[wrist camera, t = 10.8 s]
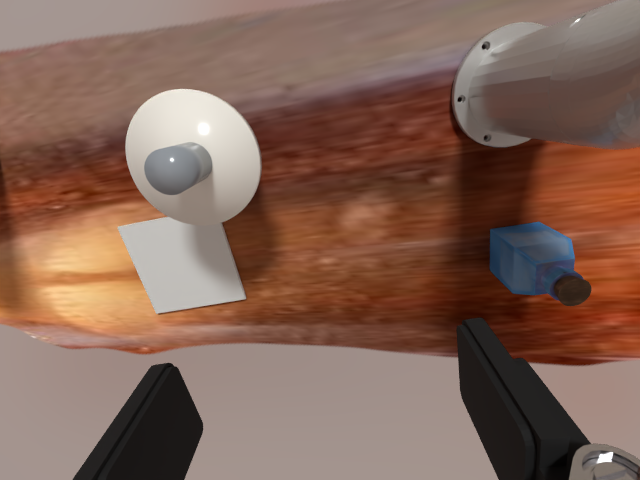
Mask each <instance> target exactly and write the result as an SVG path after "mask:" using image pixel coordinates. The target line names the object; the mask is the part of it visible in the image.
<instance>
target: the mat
mask: <svg viewBox="0 0 640 480" xmlns="http://www.w3.org/2000/svg"><path fill="white" fill-rule="evenodd" d="M117 228H118V230H119V232H120V234H121V237H122V239H123V241H124V243H125V246H126V248H127V250H128V252H129V254H130V257H131V259H132V261H133V263H134V265H135V268H136V270H137V272H138V274H139V277H140V279H141V281H142V283H143V285H144V288H145V290H146V292H147V294H148V296H149V299H150V301H151V303H152V305H153V308H154V310H155V312H156V314H158V313H164V312H170V311H176V310H182V309H188V308H194V307H201V306H207V305H213V304H219V303H225V302H231V301H237V300H244V299H246V295H245V292H244V289H243V285H242V282H241V279H240V276H239V273H238V270H237V267H236V264H235V261H234V258H233V255H232V252H231V249H230V246H229V243H228V239H227V236H226V233H225V230H224V227H223V224H222V223H218V224H214V225H206V226H203V225H191V224H186V223H182V222H180V221H177V220H174V219H172V218H170V217H164V218H159V219H154V220H149V221H144V222H139V223H133V224H128V225H123V226H119V227H117Z"/></svg>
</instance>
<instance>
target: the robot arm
mask: <svg viewBox="0 0 640 480" xmlns="http://www.w3.org/2000/svg"><path fill="white" fill-rule="evenodd" d="M482 45H484V46H485V48H484V50H483V49H482ZM459 97H460V98H461V100H460V102H458V101H457V100H458V98H459ZM452 108H453V113H454V116H455V119H456V121H457V123H458V125H459V127H460V128H461V129H462V131H463V132H464V133H465V134H466V135H467V136H468V137H469V138H471V139H472V140H474V141H476V142H478V143H480V144H483V145H486V146H491V147H510V146H516V145H519V144H521V143H524V142H527V141H529V140H530V139H532V138H533V139H540V140H547V141H553V142H560V143H566V144H573V145H580V146H588V147H595V148H602V149H630V148H636V147H640V0H617V1H615V2H613V3H610V4H607V5H605V6H602V7H599V8H597V9H594V10H591V11H589V12H586V13H583V14H581V15H578V16H575V17H573V18H570V19H567V20H565V21H562V22H559V23H557V24H554V25H551V26H549V27H546V26H543V25H541V24H538V23H531V22H519V23H512V24H509V25H506V26H503V27H500V28H498V29H496V30H494V31H492V32H491V33H489V34H488V35H486V36H485V37H483V38H482V39H480V40H479V41H478V42H477V43H476V44H475V45H474V46H473V47H472V48H471V49H470V51H469V52H468V53H467V55H466V56H465V57H464V59H463V60H462V62H461V64H460V66H459V68H458V70H457V73H456V76H455V78H454V82H453V88H452ZM485 135H486V138H485V139H484V136H485ZM457 344H458V361H459V378H460V391H461V396H462V399H463V402H464V404H465V406H466V409H467V411H468V413H469V415H470V417H471V420H472V422H473V424H474V426H475V428H476V430H477V433H478V435H479V437H480V439H481V442H482V443H483V446H484V448H485V450H486V453H487V455H488V457H489V459H490V461H491V463H492V465H493V468H494V470H495V472H496V474H497V477H498V479H499V480H640V460H639V459H638V458H636V457H635V456H633V455H631V454H629V453H627V452H625V451H623V450H621V449H619V448H616V447H612V446H609V445H604V444H591V443H590V442H589V441H588V440H587V438H586V437H585V435H584V434H583V433H582V432H581V430H580V429H579V428H578V427H577V425H576V424H575V423H574V421H573V420H572V419H571V417H570V416H569V415H568V414H567V412H566V411H565V410H564V408H563V407H562V406H561V405H560V403H559V402H558V401H557V399H556V398H555V397H554V396H553V395H552V393H551V392H550V391H549V389H548V388H547V387H546V385H545V384H544V383H543V381H542V380H541V379H540V378H539V376H538V375H537V374H536V373H535V371H534V370H533V369H532V367H531V366H530V365H529V364H528V362H527V361H526V360H525V359H523V358H516V359H512V357H511V356H510V354H509V353H508V352H507V350H506V349H505V348H504V346H503V345H502V344H501V342H500V341H499V339H498V338H497V337H496V335H495V334H494V333H493V331H492V330H491V328H490V327H489V326H488V324H487V323H486V322H485V320H484V319H483V318H474V319H467V320H463V321H462V325H459V326H457ZM202 432H203V422H202V420H201V418H200V415H199V413H198V411H197V409H196V407H195V404H194V402H193V400H192V398H191V396H190V393H189V391H188V389H187V387H186V385H185V382H184V380H183V378H182V376H181V374H180V371H179V369H178V368H177V367H174V366H173V364H171V363H164V364H158V365H153V366H151V367H150V369H149V370H148V371H147V373H146V374H145V376H144V377H143V379H142V380H141V381H140V383H139V384H138V386H137V387H136V389H135V390H134V392H133V393H132V395H131V396H130V397H129V399H128V400H127V402H126V403H125V405H124V406H123V407H122V409H121V411H120V412H119V413H118V415H117V416H116V418H115V419H114V421H113V422H112V423H111V425H110V426H109V428H108V429H107V431H106V432H105V433H104V435H103V436H102V438H101V439H100V441H99V442H98V444H97V445H96V446H95V448H94V450H93V451H92V452H91V454H90V455H89V457H88V458H87V459H86V461H85V462H84V464H83V465H82V467H81V468H80V470H79V471H78V472H77V474H76V475H75V477H74V478H73V480H184V479H185V476H186V473H187V471H188V469H189V466H190V463H191V461H192V458H193V456H194V453H195V451H196V448H197V446H198V443H199V440H200V438H201V435H202Z"/></svg>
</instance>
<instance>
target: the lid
mask: <svg viewBox="0 0 640 480" xmlns="http://www.w3.org/2000/svg"><path fill="white" fill-rule="evenodd" d="M126 158H127V163H128V167H129V170H130V173H131V176H132V178H133V180H134V182H135V184H136V186H137V187H138V189H139V190H140V192H141V193H142V194H143V196H144V197H145V198H146V199H147V200H148V201H149V202H150V203H151V204H152V205H153V206H154V207H155V208H156V209H158V210H159V211H160V212H162V213H163V214H165V215H166V216H168V217H170V218H172V219H174V220H177V221H180V222H182V223H186V224H191V225H203V226H206V225H214V224H218V223H222V222H224V221H227V220H229V219H231V218H232V217H234V216H236V215H237V214H238V213H240V212H241V211H242V210H243V209H244V208H245V207H246V206H247V204H248V203H249V202H250V201H251V199H252V198H253V196H254V194H255V192H256V191H257V188H258V185H259V182H260V178H261V171H262V160H261V153H260V148H259V145H258V141H257V139H256V136H255V134H254V132H253V130H252V129H251V127H250V125H249V124H248V122H247V121H246V120H245V118H244V117H243V116H242V115H241V114H240V113H239V112H238V111H237V110H236V109H235V108H234V107H233V106H231V105H230V104H229V103H228V102H226V101H224V100H223V99H221V98H219V97H217V96H215V95H212V94H210V93H206V92H203V91H198V90H190V89H175V90H169V91H166V92H162V93H160V94H158V95H156V96H154V97H152V98H151V99H149V100H148V101H146V102H145V103H144V104H143V105H142V106H141V107H140V108H139V109H138V111H137V112H136V113H135V115H134V117H133V119H132V121H131V123H130V125H129V128H128V131H127V137H126Z"/></svg>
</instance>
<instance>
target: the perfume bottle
mask: <svg viewBox="0 0 640 480" xmlns="http://www.w3.org/2000/svg"><path fill="white" fill-rule="evenodd" d="M574 262H575V257H574V252H573V247H572V242H571V239H570V238H568V237H566V236H564V235H563V234H561V233H559V232H557V231H555V230H553V229H551V228H550V227H548V226H546V225H544V224H542V223H540V222H534V223H528V224H521V225H515V226H508V227H501V228H495V229H490V271H491V272H492V273H493V274H494V275H495V276H496V277H497V278H498V279H499V280H500V281H501V282H502V283H503V284H504V285H505V286H506V287H507V288H508V289H509V290H510V291H511V292H512V293H513V294H526V295H539V294H547V293H548V294H549V295H551V296H552V297H553V298H554V299H556V300H559V301H560V302H561V303H562V304H564V305H567V306H575V305H579V304H581V303H583V302H584V301H585V300H586V299H587V298H588V297H589V296H590V293H591V285H590V283H589V282H587V281H586V280H584V279H583V277H582V276H581V275H580V274H578V273H577V272H575V271H574Z"/></svg>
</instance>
